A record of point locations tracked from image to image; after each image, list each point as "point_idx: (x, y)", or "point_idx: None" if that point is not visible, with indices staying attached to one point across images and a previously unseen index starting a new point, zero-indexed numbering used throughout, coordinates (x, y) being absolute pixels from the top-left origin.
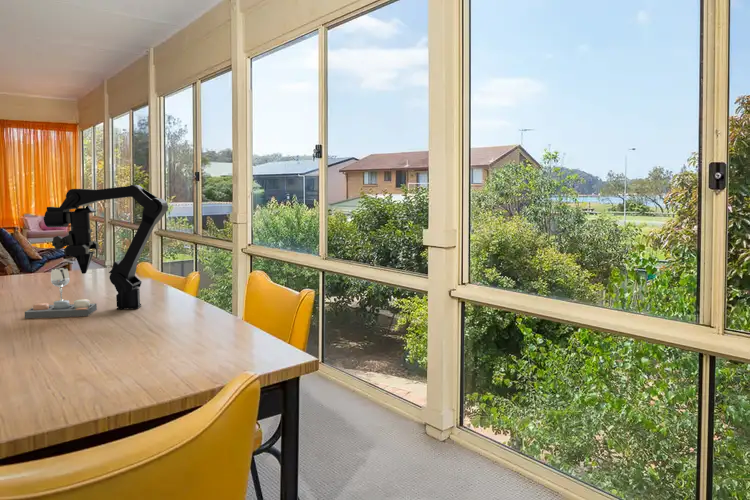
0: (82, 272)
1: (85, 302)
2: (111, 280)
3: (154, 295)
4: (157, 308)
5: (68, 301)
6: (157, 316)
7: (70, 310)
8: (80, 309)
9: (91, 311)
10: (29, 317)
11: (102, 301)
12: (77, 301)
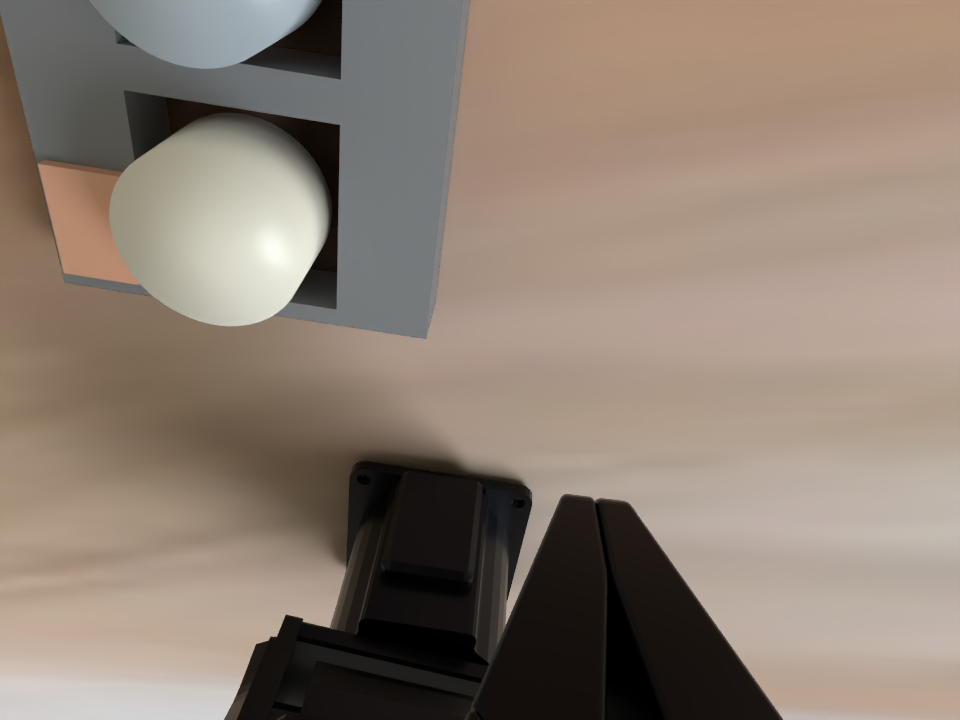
0: (554, 522)
1: (152, 284)
2: (302, 707)
3: (935, 674)
4: None
5: (172, 62)
6: (89, 641)
7: (23, 95)
8: (56, 212)
9: None
10: None
11: (924, 327)
12: (155, 195)
